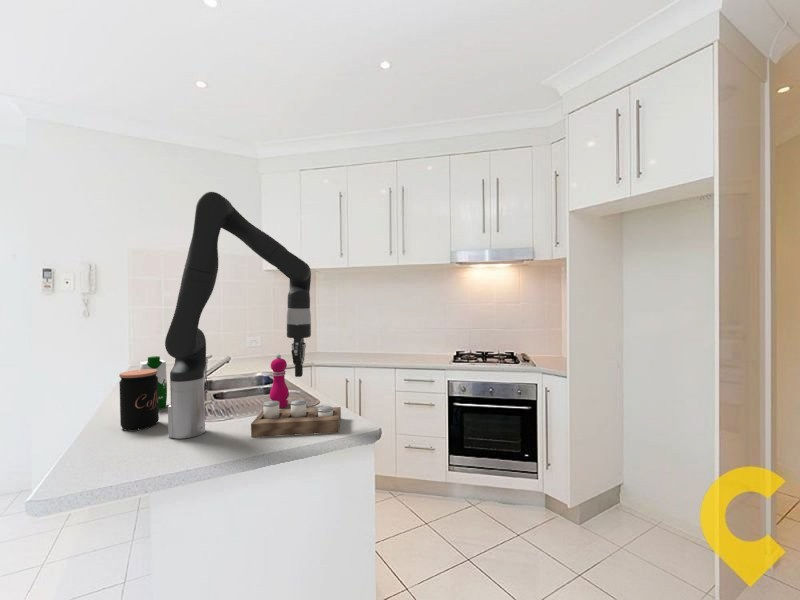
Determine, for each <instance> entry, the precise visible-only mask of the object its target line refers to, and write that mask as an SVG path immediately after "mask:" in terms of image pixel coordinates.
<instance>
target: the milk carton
mask: <svg viewBox="0 0 800 600" xmlns="http://www.w3.org/2000/svg"><path fill="white" fill-rule="evenodd" d="M160 357H161V356H159V355H158V356H154V355H153V356H148V357H147V361H140V362H139V370H143V369H155V370H158V372H157V374H156V376H157V377H158V405H159V410H160V409H166V408H167V398H168V385H167V384H168V383H167V381H168V379H167V378H168V377H167V375H168V374H167V361H165V360H164V359H161V358H160Z"/></svg>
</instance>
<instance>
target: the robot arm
mask: <svg viewBox="0 0 800 600" xmlns="http://www.w3.org/2000/svg"><path fill="white" fill-rule="evenodd" d="M195 205H196V206H195V213H194V214H195V215H194V221H193V223H194V224H193V231H192V237H191V241H190V244H189V247H188V251H187V257H186V260H185V264H184V268H183V272H182V276H181V282H180V287H179V291H178V294H177V301H176V305H175V310H174V314H173V316H172V319H171V323H170V325H169V328H168V330H167V334H166V337H165V341H164V346H165V350H166V352H167V354H168V355H169V356H171V357H172V358H174V359H175V360H174V363H173V367H172V369H171V370H170V372H169V383H170V385H169V386H170V404H169V405H168V406H167V421H168V422H167V427H168V431H167V432H168V433H167V435H168V438H173V439H179V440H180V439H181V440H182V439H190V438H195V437H198V436H200V435H203V434H204V433H205V432H206V415H205V413H206V412H205V405H206V404H205V377H204V376H205V375H204V373H205V369H206V363H207V340H206V336H205V334H204V332H203V330H201V329H200V328H199V324H200V319H201V315H202V314H203V311H204V309H205V307H206V305H207V303H208V301H209V300H210V297H211V296H212V293H213V292H214V289H215V285H216V281H217V277H218V273H219V272H218V271H219V249H218V248H219V245H218V244H219V236H220V233H221V229H222V230H224V231H227V232H228V233H230V234H232V236H235V237H236V238H238V239H239V240H240V241H241V242H243V243H244V244H245V245H246V246H247V247H248V248H249V249H251V250H252V252H254V253H255V254H256V255H258V256H259V257H261V258H262V259H263V260H264V261H265V262H267V263H268V264H270V265H272V266H273V267H275V268H276V269H277V270H278V271H280V272H281V273H282V274H283V275H285V276H286V278H288V279H289V289H288V290H289V291H288V293H287V311H286V337H287V338H289V339H293V343H291V351H290V353H291V356H292V363H293V365H294V376H295V378H296V377H297V378H301V377H303V371H304V370H303V368H304V367H303V365H304V364H305V363H304V362H305V356H306V348H307V343H306V342H305V339H307V338H310V337H311V336H312V317H311V316H312V315H311V314H312V313H311V294H310V291H311V282H312V281H311V280H312V270H311V267H310V266H309V264H308V263H307V262H306V261H304V260H303V259H302V258H299V257H298V256H297V255H295V253H292V252H290V251H289V250H288V249H287V248H286V247H285V246H284V245H283V244H281V243H280V242H279V241H277V240H276V239H275V238H273V237H272V236H270V235H269V234H268V233H266V232H264V231H263V230H261V229H260V228H258V227H256V226H255V225H254V224H252V223H251V222H250V221H248V220H247V219H246V218H245V217H244V216H243V215H242V214H241V213H240V212H239V211H238V210H237V209H236V207H234V206H233V205H232V203H231V201H229V200H228V198H225V197H224V196H223V194H221V193H218V192H215V191H207V192H204V193H203V194H202V195H200V197H199V198H198V199H197V202H196V204H195Z"/></svg>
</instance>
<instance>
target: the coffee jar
mask: <svg viewBox="0 0 800 600" xmlns="http://www.w3.org/2000/svg"><path fill="white" fill-rule="evenodd" d="M157 372H158V370H155V369H143V370H140V369H135V370H128V371H127V370H126V371H124V372H121V373H119V376H118V377H119V378H120V381H119V414H120V415H119V416H120V420H119V421H120V427H121V428H122V429H123V430H124V429H126V430H125V431H129V430H132V431H139V430H138V429H141V430H145V428H146V429H149V428H151V427H154V426H156V425H157V423H158V422H159V419H160V416H159V415H160V414H159V413H160V411H159V410H160V409H159V405H158V377H157V376H156V374H157ZM148 427H149V428H148Z"/></svg>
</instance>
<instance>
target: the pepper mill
mask: <svg viewBox="0 0 800 600" xmlns="http://www.w3.org/2000/svg"><path fill="white" fill-rule="evenodd" d="M287 366H288V364H287V361H286V360H285V359H284V358H282V356H281V354H280V353H279V354H276V356H275V358H274V359H273V360H272V361H271V363H270V369H271V370H272V372H271V373H272V374H271V375H272V377H273V379H272V381H273V382H272V386H271V389H270V391H269V398H270V401H279V409H281V407H283V408H286V407H288V405H289V400H287V399H288V397H290V392H289V388H288V386H287V384H286V381H285V379H286V378H285V375H286V374H287V373H286V368H287Z"/></svg>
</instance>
